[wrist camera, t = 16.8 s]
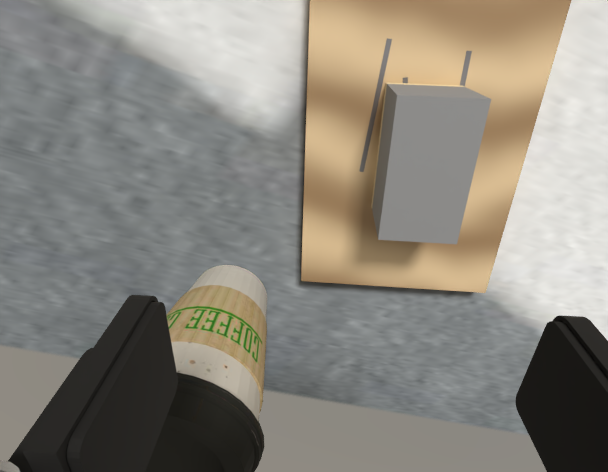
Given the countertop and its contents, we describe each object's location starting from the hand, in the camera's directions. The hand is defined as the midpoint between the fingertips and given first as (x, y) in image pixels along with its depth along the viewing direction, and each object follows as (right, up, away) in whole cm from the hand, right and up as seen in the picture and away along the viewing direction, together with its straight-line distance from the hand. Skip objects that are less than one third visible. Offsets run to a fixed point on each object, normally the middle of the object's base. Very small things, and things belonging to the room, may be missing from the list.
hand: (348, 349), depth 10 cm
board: (+6, +11, +16) cm, 20 cm away
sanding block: (+6, +8, +16) cm, 19 cm away
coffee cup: (-7, -2, +24) cm, 25 cm away
